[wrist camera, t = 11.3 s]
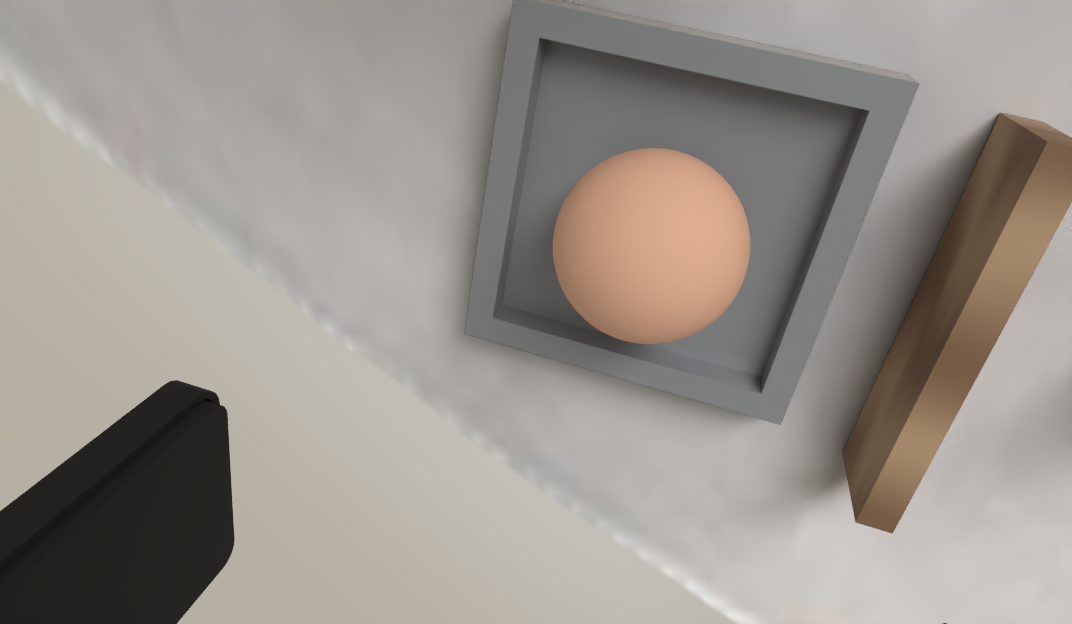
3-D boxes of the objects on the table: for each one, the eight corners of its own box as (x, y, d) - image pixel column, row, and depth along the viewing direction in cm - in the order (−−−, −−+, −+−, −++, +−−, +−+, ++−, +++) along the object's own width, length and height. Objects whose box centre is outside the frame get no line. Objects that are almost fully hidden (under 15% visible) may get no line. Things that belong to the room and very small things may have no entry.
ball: (594, 110, 24) (550, 153, 19) (775, 153, 24) (780, 210, 18) (561, 271, 27) (514, 347, 22) (721, 315, 26) (712, 405, 21)
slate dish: (528, -6, 24) (513, -4, 22) (907, 74, 22) (919, 83, 21) (479, 313, 30) (464, 333, 28) (778, 398, 28) (780, 424, 26)
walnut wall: (1000, 113, 22) (1047, 141, 19) (1042, 121, 22) (1098, 152, 18) (842, 452, 28) (855, 522, 25) (874, 461, 28) (892, 533, 24)
